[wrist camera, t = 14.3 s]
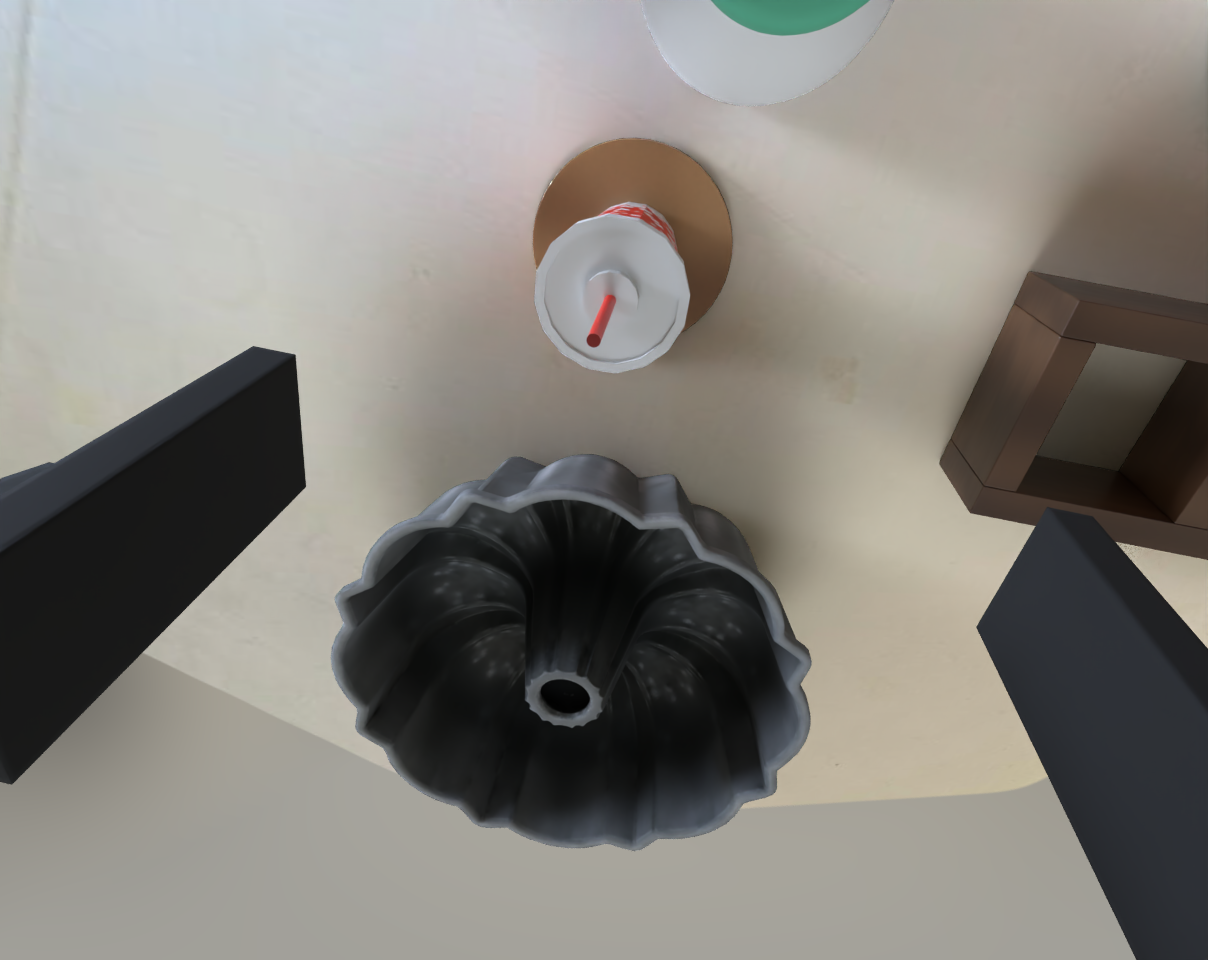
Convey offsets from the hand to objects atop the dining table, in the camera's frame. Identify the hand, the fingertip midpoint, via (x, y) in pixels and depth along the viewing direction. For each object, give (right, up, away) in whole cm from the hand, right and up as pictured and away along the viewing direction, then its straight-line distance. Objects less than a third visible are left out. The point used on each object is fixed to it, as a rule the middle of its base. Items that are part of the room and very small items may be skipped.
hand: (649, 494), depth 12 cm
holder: (+29, +4, +23) cm, 37 cm away
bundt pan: (-2, -7, +34) cm, 35 cm away
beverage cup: (+1, +12, +22) cm, 25 cm away
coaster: (+1, +12, +23) cm, 26 cm away
